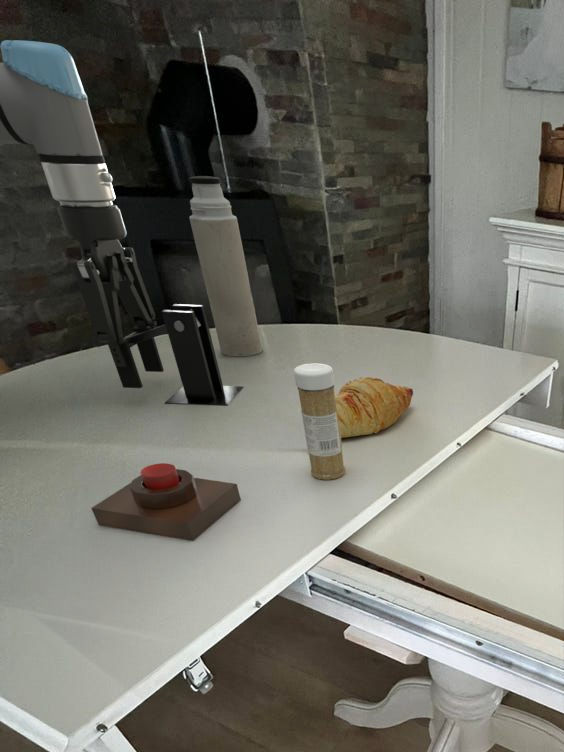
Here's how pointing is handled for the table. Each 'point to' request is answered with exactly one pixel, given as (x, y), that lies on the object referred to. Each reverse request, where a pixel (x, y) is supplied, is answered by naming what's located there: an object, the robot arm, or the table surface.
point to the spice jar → (320, 419)
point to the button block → (168, 507)
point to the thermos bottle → (224, 268)
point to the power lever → (149, 333)
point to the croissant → (369, 406)
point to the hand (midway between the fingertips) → (144, 378)
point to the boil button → (160, 476)
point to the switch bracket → (196, 359)
